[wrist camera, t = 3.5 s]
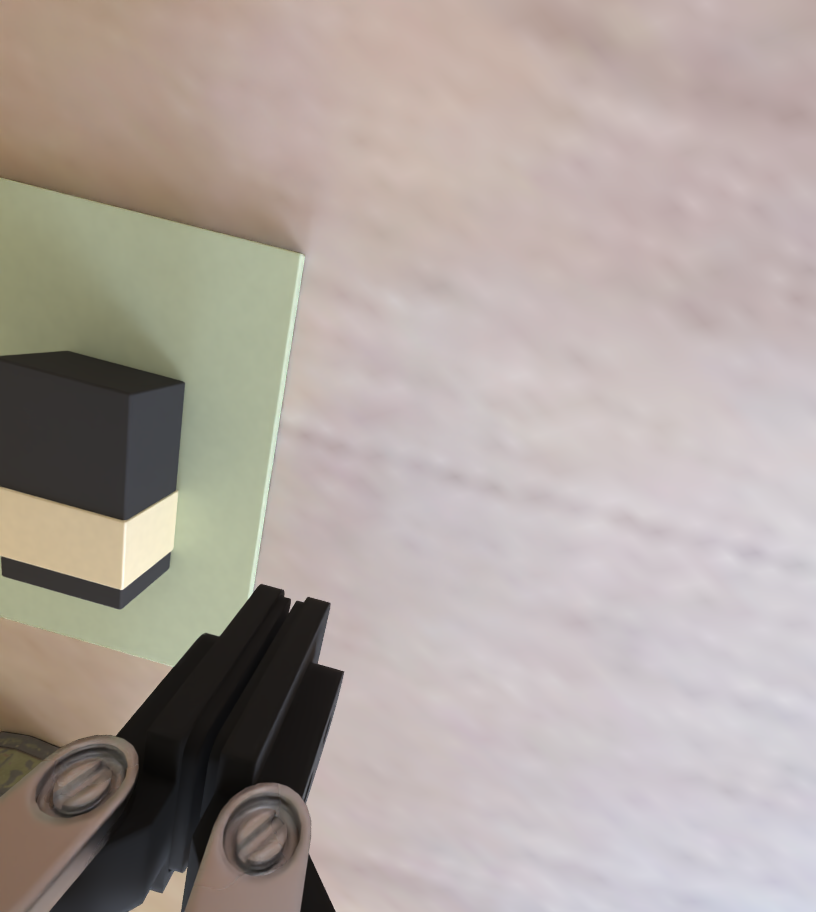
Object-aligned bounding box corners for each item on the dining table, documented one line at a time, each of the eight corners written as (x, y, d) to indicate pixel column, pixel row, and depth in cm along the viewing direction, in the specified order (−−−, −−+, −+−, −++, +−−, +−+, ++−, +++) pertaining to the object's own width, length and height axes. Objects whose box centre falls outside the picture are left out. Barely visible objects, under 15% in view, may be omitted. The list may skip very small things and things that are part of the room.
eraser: (67, 349, 14) (-15, 355, 12) (189, 381, 14) (131, 394, 12) (67, 539, 16) (-3, 577, 14) (172, 568, 16) (121, 612, 14)
